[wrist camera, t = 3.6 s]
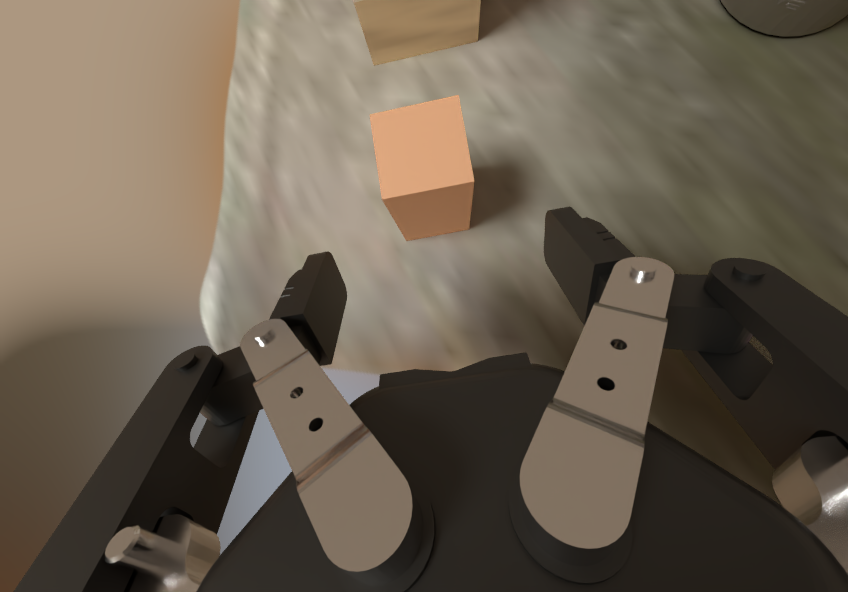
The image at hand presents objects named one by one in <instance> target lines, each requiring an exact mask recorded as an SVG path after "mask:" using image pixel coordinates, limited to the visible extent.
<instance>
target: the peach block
mask: <svg viewBox="0 0 848 592" xmlns="http://www.w3.org/2000/svg"><path fill="white" fill-rule="evenodd" d="M370 121H371V127H372V134H373V141H374V148H375V155H376V161H377V168H378V175H379V182H380V188H381V195H382V200H383V202H384V204H385V205H386V207H387V209H388V210H389V212H390V214H391V215H392V217H393V219H394V221H395V222H396V224H397V226H398V227H399V229H400V231H401V232H402V234H403V236H404V238H405V239H406V241H409V240H415V239H420V238H425V237H431V236H436V235H442V234H447V233H453V232H458V231H463V230H469V226H470V217H471V208H472V199H473V190H474V176H473V171H472V165H471V160H470V155H469V149H468V144H467V138H466V133H465V127H464V122H463V116H462V111H461V106H460V100H459V95H456V96H451V97H447V98H442V99H438V100H433V101H429V102H424V103H420V104H415V105H411V106H406V107H402V108H397V109H393V110H388V111H384V112H379V113H375V114H370Z"/></svg>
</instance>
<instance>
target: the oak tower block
mask: <svg viewBox="0 0 848 592" xmlns="http://www.w3.org/2000/svg"><path fill="white" fill-rule="evenodd" d="M480 4H481V0H363V1H359V2H355V3H354V5H355V8H356V11H357V14H358V17H359V20H360V23H361V27H362V30H363V33H364V36H365V39H366V42H367V45H368V48H369V52H370V55H371V58H372V61H373V64H374V65H379V64H383V63H387V62H391V61H396V60H400V59H404V58H409V57H413V56H417V55H421V54H426V53H430V52H434V51H438V50H443V49H447V48H451V47H455V46H460V45H464V44H468V43H473V42H477V41H478V32H479V18H480Z"/></svg>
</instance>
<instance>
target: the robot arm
mask: <svg viewBox="0 0 848 592" xmlns="http://www.w3.org/2000/svg"><path fill="white" fill-rule="evenodd" d="M721 2H722V4H723V5H724V6H725V8H726V9H727V10H728V12H729V13H730V14H731V15H732V16H734V17H735V18H736V19H737V20H738V21H739V22H741V23H742V24H744V25H746V26H748V27H750V28H751V29H753V30H756V31H759V32H762V33H765V34H769V35H776V36H783V37H784V36H802V35H807V34H812V33H816V32H819V31H821V30H823V29H826V28H828V27H831V26H832V25H834V24H835V23H837V22H838V21H840V20H841V19H843V18H844V17H846V16H847V15H848V0H721ZM544 256H545V261H546V264H547V266H548V267H549V269H550V271H551V272H552V274H553V276H554V277H555V279H556V280H557V282H558V284H559V285H560V287H561V289H562V290H563V292H564V294H565V295H566V297H567V298H568V300H569V302H570V303H571V305H572V307H573V308H574V310H575V311H576V313H577V315H578V316H579V318H580V320H581V321H582V323H583V324H584V325H585V326H584V328H583V331H582V333H581V335H580V338H579V340H578V342H577V345H576V347H575V349H574V352H573V354H572V356H571V359H570V361H569V363H568V366H567V368H566V370H565V372H564V371H562V370H559V369H556V368H553V367H549V366H545V365H539V364H531V363H530V361H529V358H528V355H527V353H519V354H513V355H506V356H500V357H493V358H488V359H486V360H483V361H480V362H478V363H475V364H472V365H470V366H467V367H464V368H462V369H459V370H456V371H452V372H448V371H433V370H418V369H414V370H407V371H400V372H394V373H387V374H381V375H380V381H379V387H376V388H374V389H372V390H370V391H368V392H366V393H365V394H363V395H361V396H360V397H358V398H357V399H356V400H355V401H353V402H352V403H351V404H350V405H349V404H348V403H347V402H346V401H345V399H344V398H343V396H342V395H341V394H340V392H339V391H338V390H337V388H336V387H335V386H334V384H333V383H332V382H331V380H330V379H329V378H328V376H327V375H326V374H325V372H324V371H323V370H322V368H321V367H320V366H322V365H328V364H332V360H333V356H334V351H335V347H336V343H337V339H338V335H339V330H340V326H341V322H342V318H343V313H344V309H345V305H346V301H347V291H346V287H345V284H344V281H343V279H342V277H341V274H340V272H339V270H338V267H337V265H336V263H335V260H334V258H333V256H332V254H331V253H330V252H323V253H318V254H312V255H309V256H308V257H307V259H306V262H305V264H304V266H303V268H302V270H298V271H297V272H296V273H295V274H294V275H293V276H292V277H291V278H290V279H289V280H288V283H287V285H286V287H285V290H284V291H283V293H282V295H281V298H280V299H279V301H278V303H277V305H276V307H275V309H274V311H273V313H272V315H271V317H270V319H269V320H266V321H263V322H261V323H259V324H257V325H255V326H254V327H252V328H251V329H250V330H249V331H248V332H247V333H246V334H245V335H244V336H243V338H242V340H241V342H240V347H237V348H234V349H232V350H229V351H227V352H224V353H222V354H219V355H217V354H216V353H215V352H214V351H213V350H212V349H211V348H210V347H208V346H198V347H194V348H191V349H189V350H187V351H185V352H183V353H181V354H180V355H178V356H177V357H176V358H174V359H173V360H172V361H171V362H170V363H169V364H168V365H167V366H166V368H165V369H164V371H163V372H162V374H161V375H160V376H159V378H158V379H157V381H156V382H155V384H154V385H153V387H152V388H151V390H150V391H149V393H148V394H147V395H146V397H145V399H144V400H143V401H142V403H141V404H140V406H139V407H138V409H137V410H136V412H135V413H134V415H133V416H132V418H131V419H130V421H129V422H128V423H127V425H126V427H125V428H124V429H123V431H122V433H121V434H120V435H119V437H118V438H117V440H116V441H115V443H114V444H113V446H112V447H111V449H110V450H109V452H108V453H107V454H106V456H105V458H104V459H103V460H102V462H101V464H100V465H99V466H98V468H97V469H96V471H95V472H94V474H93V475H92V477H91V478H90V480H89V481H88V483H87V484H86V485H85V487H84V488H83V490H82V491H81V493H80V494H79V496H78V497H77V499H76V500H75V502H74V503H73V505H72V506H71V508H70V509H69V511H68V512H67V514H66V515H65V516H64V518H63V519H62V521H61V522H60V524H59V525H58V527H57V528H56V530H55V531H54V533H53V534H52V536H51V537H50V539H49V540H48V542H47V543H46V545H45V546H44V547H43V549H42V550H41V552H40V553H39V555H38V557H37V558H36V559H35V561H34V562H33V564H32V565H31V567H30V568H29V570H28V571H27V573H26V574H25V575H24V577H23V578H22V580H21V581H20V583H19V584H18V586H17V587H16V589H15V590H14V592H848V317H847V316H846V315H844V314H843V313H842V312H840V311H839V310H837V309H836V308H834V307H833V306H831V305H830V304H828V303H827V302H825V301H824V300H823V299H821V298H820V297H818V296H817V295H815V294H814V293H812V292H811V291H809V290H808V289H806V288H805V287H804V286H802V285H801V284H799V283H798V282H796V281H795V280H793V279H792V278H790V277H789V276H787V275H786V274H785V273H783V272H782V271H780V270H779V269H777V268H775V267H773V266H771V265H769V264H766V263H764V262H760V261H756V260H751V259H744V258H728V259H722V260H719V261H717V262H715V263H714V264H713V265H712V267H711V269H710V271H709V274H708V275H681V274H674V272H673V270H672V269H671V268H670V267H669V266H668V265H667V264H665V263H663V262H661V261H658V260H655V259H652V258H646V257H635V256H634V255H633V254H632V253H631V252H630V251H629V250H628V249H627V248H626V247H625V246H624V245H623V244H622V243H621V242H620V241H619V240H618V239H615V236H613V235H612V234H611V233H610V232H608V230H607V229H606V228H605V227H604V226H603V225H602V224H601V223H599V222H597V221H595V220H592V219H590V218H581V217H580V216H579V215H578V214H577V213H576V211H575V210H574V209H573V208H572V207H565V208H559V209H554V210H549V211H547V213H546V218H545V237H544ZM752 336H754V337H755V338H756V339H757V340H758V341H760V342H761V343H762V344H763V345H764V346H765V347H766V348H767V349H768V351H769V352H770V354H771V356H772V360H773V365H772V364H771V363H770V362H769V361H768V360H767V359H766V358H765V357H764V356H763V355H761V354H760V353H759V352H758V351H757V350H756V349H755V348H754V347H753V346H752V345H751V344H750V343H749V341H750V339H751V338H752ZM662 348H669V349H680V350H682V351H683V353H684V354H685V355H686V357H687V358H688V359H689V360H690V362H691V363H692V364H693V365H694V367H695V368H696V369H697V371H698V372H699V373H700V374H701V376H702V377H703V378H704V380H705V381H706V382H707V383H708V385H709V386H710V387H711V388H712V390H713V391H714V392H715V394H716V395H717V396H718V397H719V399H720V400H721V401H722V402H723V404H724V405H725V406H726V408H727V409H728V410H729V411H730V413H731V414H732V415H733V417H734V418H735V419H736V420H737V422H738V423H739V424H740V425H741V427H742V428H743V429H744V431H745V432H746V433H747V434H748V436H749V437H750V438H751V440H752V441H753V442H754V443H755V445H756V446H757V447H758V448H759V450H760V451H761V452H762V454H763V455H764V456H765V457H766V459H767V460H768V461H769V462H770V464H771V465H772V466H773V468H774V469H775V471H774V473H773V475H772V484H773V488H774V491H775V493H776V495H777V497H778V499H779V500H780V502H781V505H779V504H778V503H776V502H775V501H773V500H772V499H770V498H769V497H768V496H766V495H764V494H763V493H761V492H760V491H758V490H756V489H755V488H753V487H752V486H750V485H748V484H747V483H745V482H743V481H742V480H740V479H739V478H737V477H735V476H734V475H732V474H731V473H729V472H727V471H726V470H724V469H723V468H721V467H719V466H718V465H716V464H715V463H713V462H711V461H710V460H708V459H707V458H705V457H703V456H702V455H700V454H699V453H697V452H695V451H694V450H692V449H691V448H689V447H687V446H686V445H684V444H682V443H681V442H679V441H678V440H676V439H674V438H673V437H671V436H670V435H668V434H666V433H665V432H663V431H662V430H660V429H658V428H657V427H655V426H654V425H652V424H650V423H649V422H647V420H648V415H649V411H650V406H651V401H652V396H653V391H654V386H655V382H656V377H657V372H658V367H659V362H660V357H661V353H662ZM261 409H264V410H265V412H266V415H267V417H268V419H269V421H270V423H271V425H272V428H273V430H274V432H275V434H276V436H277V438H278V440H279V443H280V445H281V447H282V449H283V452H284V454H285V456H286V458H287V460H288V462H289V465H290V467H291V469H292V472H291V473H290V474H289V476H287V478H286V479H285V480H284V481H283V482H282V484H281V485H280V486H279V487H278V488H277V489H276V491H275V492H274V493H273V494H272V495H271V496H270V498H269V499H268V500H267V501H266V502H265V504H264V505H263V506H262V507H261V508H260V509H259V510H258V512H257V513H256V514H255V515H254V516H253V518H252V519H251V520H250V521H249V522H248V523H247V525H246V526H245V527H244V528H243V529H242V530H241V532H240V533H239V534H238V535H237V536H236V537H235V539H234V540H233V541H232V542H231V543H230V545H229V546H228V547H227V548H226V549H225V550H224V551H223V553H222V554H221V555H220V541H219V538H218V536H217V532H218V529H219V527H220V523H221V521H222V518H223V514H224V512H225V509H226V506H227V503H228V500H229V497H230V494H231V491H232V488H233V486H234V483H235V480H236V477H237V474H238V471H239V468H240V465H241V462H242V459H243V456H244V453H245V450H246V447H247V444H248V442H249V439H250V436H251V433H252V430H253V427H254V424H255V421H256V418H257V415H258V412H259V410H261ZM199 413H201V414H202V415H203V416H204V417H206V418H207V420H206V423H205V425H204V427H203V429H202V431H201V433H200V435H199V437H198V439H197V442H196V444H195V446H194V448H193V447H192V445H191V443H190V432H191V429H192V427H193V425H194V423H195V421H196V419H197V417H198V415H199Z"/></svg>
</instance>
